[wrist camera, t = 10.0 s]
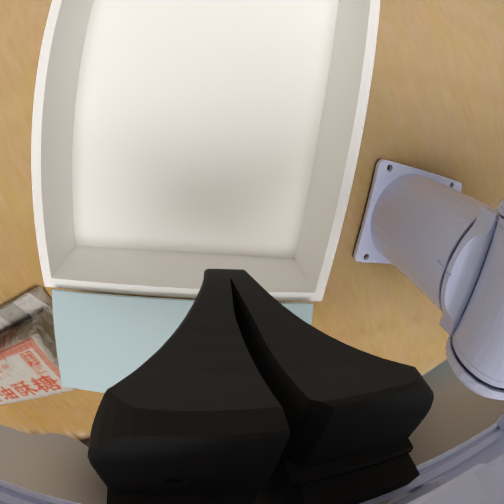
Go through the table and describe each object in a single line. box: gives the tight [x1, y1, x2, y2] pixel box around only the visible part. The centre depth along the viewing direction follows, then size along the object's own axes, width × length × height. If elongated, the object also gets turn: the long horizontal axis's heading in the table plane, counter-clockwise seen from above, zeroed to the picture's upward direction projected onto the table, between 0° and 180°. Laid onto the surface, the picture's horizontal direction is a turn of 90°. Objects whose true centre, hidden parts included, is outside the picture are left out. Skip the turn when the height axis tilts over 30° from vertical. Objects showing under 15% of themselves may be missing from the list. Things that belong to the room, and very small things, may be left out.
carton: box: [31, 0, 380, 301], centre depth 14 cm, size 16×21×5 cm
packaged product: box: [0, 286, 77, 405], centre depth 20 cm, size 18×5×10 cm
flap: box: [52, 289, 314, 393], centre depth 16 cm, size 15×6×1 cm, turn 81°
